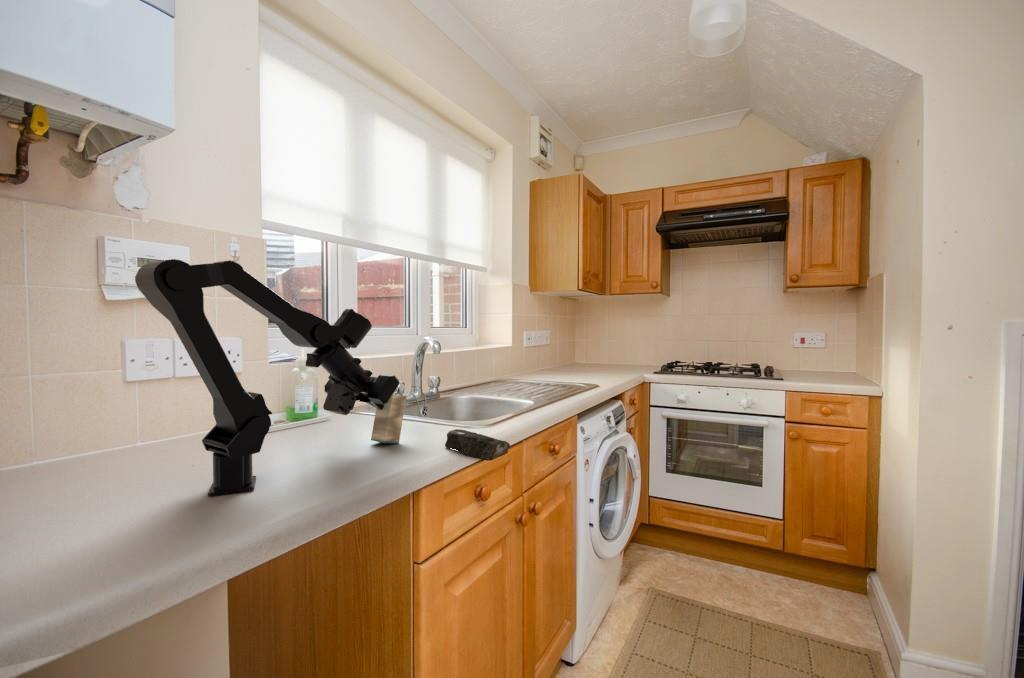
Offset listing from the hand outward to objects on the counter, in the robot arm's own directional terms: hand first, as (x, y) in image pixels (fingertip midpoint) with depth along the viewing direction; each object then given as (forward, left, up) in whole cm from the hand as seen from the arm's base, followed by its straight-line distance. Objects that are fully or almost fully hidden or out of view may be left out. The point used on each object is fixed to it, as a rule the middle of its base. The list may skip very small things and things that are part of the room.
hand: (381, 408), depth 105 cm
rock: (-14, -18, -9) cm, 24 cm away
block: (0, -1, -8) cm, 8 cm away
